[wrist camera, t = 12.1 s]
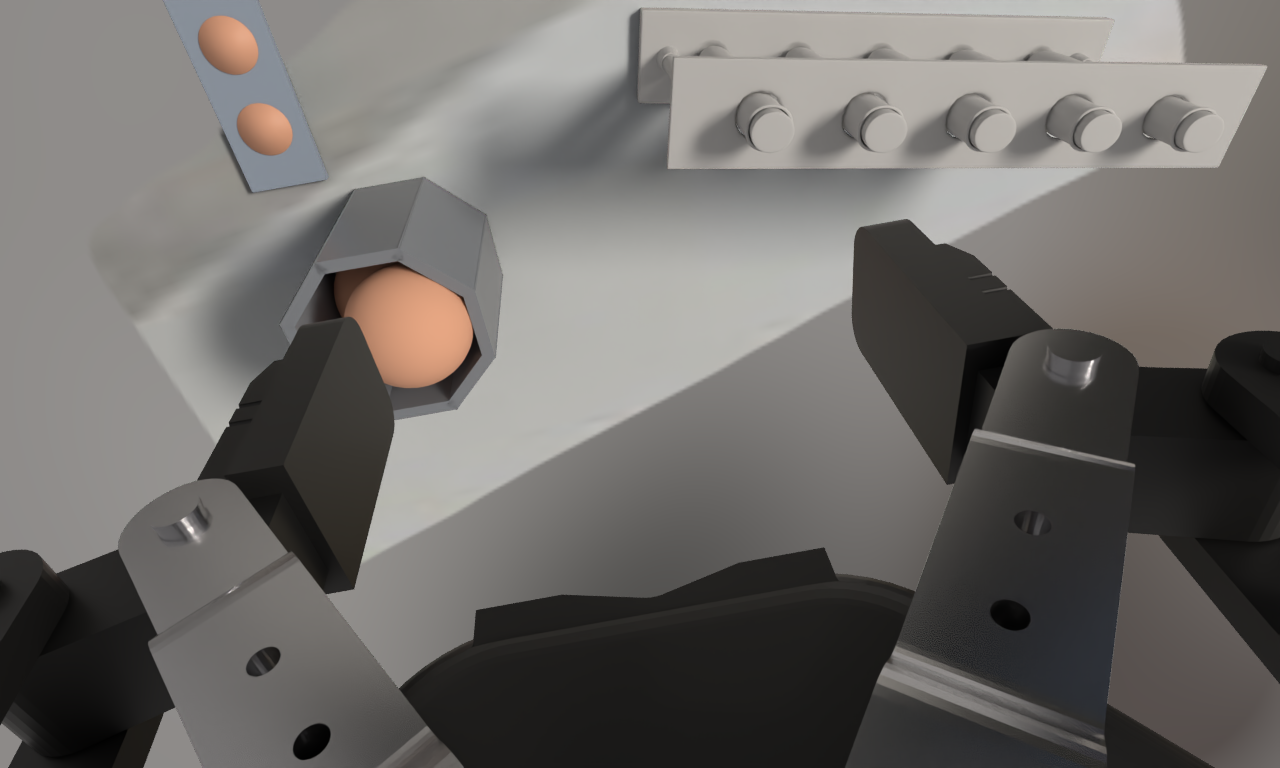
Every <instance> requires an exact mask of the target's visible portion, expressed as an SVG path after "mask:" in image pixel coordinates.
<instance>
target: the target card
mask: <svg viewBox="0 0 1280 768" xmlns="http://www.w3.org/2000/svg"><path fill="white" fill-rule="evenodd" d="M163 2H164V4H165V6H166V8H167V10H168V12H169V15H170V17H171V19H172V21H173V23H174V25H175V27H176V30H177V32H178V34H179V36H180V38H181V40H182V42H183V45H184V47H185V49H186V51H187V53H188V55H189V57H190V60H191V62H192V64H193V66H194V68H195V70H196V73H197V75H198V77H199V79H200V81H201V83H202V85H203V88H204V90H205V92H206V94H207V96H208V98H209V100H210V102H211V105H212V107H213V109H214V111H215V113H216V115H217V118H218V120H219V122H220V124H221V126H222V128H223V130H224V133H225V135H226V137H227V139H228V141H229V143H230V145H231V148H232V150H233V152H234V154H235V156H236V158H237V160H238V163H239V165H240V167H241V169H242V171H243V173H244V175H245V178H246V180H247V182H248V184H249V186H250V188H251V190H252V193H253V192H259V191H264V190H270V189H276V188H282V187H287V186H293V185H299V184H304V183H310V182H316V181H321V180H327V179H328V177H329V176H328V174H327V171H326V169H325V166H324V164H323V161H322V159H321V156H320V154H319V151H318V149H317V146H316V144H315V141H314V139H313V136H312V134H311V131H310V129H309V126H308V124H307V121H306V119H305V116H304V114H303V111H302V109H301V106H300V104H299V101H298V99H297V96H296V93H295V91H294V88H293V86H292V83H291V81H290V78H289V76H288V73H287V71H286V68H285V66H284V63H283V61H282V58H281V56H280V53H279V51H278V48H277V46H276V43H275V41H274V38H273V36H272V33H271V31H270V28H269V26H268V23H267V21H266V18H265V16H264V13H263V11H262V8H261V6H260V3H259V1H258V0H163Z"/></svg>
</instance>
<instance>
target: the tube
mask: <svg viewBox="0 0 1280 768" xmlns="http://www.w3.org/2000/svg"><path fill="white" fill-rule="evenodd" d="M395 261H398V262H400V263H402V264H404V265H406V266H408V267H409V268H411V269H413V270H415V271H417V272H418V273H420V274H422V275H424V276H426V277H428V278H429V279H431V280H433V281H435V282H437V283H439V284H440V285H442V286H444V287H446V288H448V289H449V290H451V291H453V292H455V293H457V294H459V295H460V296H462V297H464V300H465V303H466V307H467V310H468V313H469V316H470V319H471V322H472V325H473V329H474V333H473V339H472V343H471V347H470V349H469V352H468V354H467V355H466V357H465V359H464V361H463V362H462V363H461V365H460V366H459V367H458V368H457V369H456V370H455V371H454V372H453V373H452V374H450V375H449V376H448V377H446V378H445V379H443V380H441V381H439V382H437V383H435V384H432V385H429V386H425V387H419V388H401V387H395V386H391V385H388V384H385V383H384V384H385V386H386V389H387V391H388V394H389V396H390V399H391V403H392V407H393V413H394V420H399V419H404V418H410V417H416V416H421V415H427V414H433V413H438V412H444V411H449V410H455V409H456V410H457V409H458V407H459V406H460V404H461V403H462V402H463V400H464V399H465V398H466V396H467V395H468V394H469V392H470V391H471V390H472V388H473V387H474V385H475V384H476V383H477V381H478V380H479V379H480V377H481V376H482V375H483V373H484V372H485V371H486V369H487V368H488V367H489V365H490V364H491V362H492V361H493V360H494V358H496V348H497V337H498V326H499V314H500V303H501V292H502V280H503V274H502V270H501V267H500V263H499V260H498V256H497V252H496V249H495V245H494V242H493V238H492V234H491V231H490V227H489V224H488V220H487V215H486V214H484V213H482V212H481V211H479V210H477V209H476V208H474V207H472V206H471V205H469V204H468V203H466V202H464V201H463V200H461V199H459V198H458V197H456V196H454V195H453V194H451V193H449V192H448V191H446V190H445V189H443V188H441V187H440V186H438V185H436V184H435V183H433V182H431V181H430V180H428V179H426V178H425V177H422V178H417V179H411V180H405V181H400V182H394V183H388V184H383V185H377V186H371V187H365V188H360V189H354V191H353V192H352V194H351V196H350V198H349V200H348V201H347V203H346V205H345V207H344V209H343V210H342V212H341V214H340V216H339V218H338V219H337V221H336V223H335V225H334V227H333V228H332V230H331V232H330V234H329V236H328V237H327V239H326V241H325V243H324V245H323V246H322V248H321V250H320V252H319V254H318V255H317V257H316V259H315V261H314V263H313V264H312V266H311V268H310V270H309V272H308V273H307V275H306V277H305V279H304V281H303V282H302V284H301V286H300V288H299V290H298V291H297V293H296V295H295V297H294V299H293V300H292V302H291V304H290V306H289V308H288V309H287V311H286V313H285V315H284V317H283V318H282V320H281V322H280V325H279V326H281V328H282V330H283V332H284V334H285V336H286V338H287V340H288V342H289V344H290V345H291V343H292V341H293V339H294V337H295V335H296V333H297V331H298V329H299V328H300V326H302V325H304V324H310V323H316V322H321V321H327V320H333V319H338V318H342V317H341V315H340V313H339V311H338V308H337V306H336V302H335V297H334V281H335V276H336V273H337V272H339V271H344V270H350V269H356V268H361V267H367V266H373V265H378V264H384V263H390V262H395Z"/></svg>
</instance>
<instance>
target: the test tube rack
mask: <svg viewBox="0 0 1280 768" xmlns="http://www.w3.org/2000/svg"><path fill="white" fill-rule="evenodd" d="M1114 21H1115V20H1113V19H1110V18H1106V17H1063V16H1014V15H966V14H919V13H871V12H824V11H776V10H729V9H684V8H640V25H639V59H638V89H637V100H638V102H639V103H663V104H670V112H669V130H668V148H667V168H668V169H853V168H1182V167H1183V168H1187V167H1188V168H1189V167H1190V168H1192V167H1193V168H1198V167H1201V168H1203V167H1204V168H1205V167H1219V164H1220V163H1221V161H1222V158H1223V157H1224V155H1225V152H1226V150H1227V148H1228V146H1229V144H1230V142H1231V140H1232V138H1233V136H1234V134H1235V132H1236V130H1237V128H1238V126H1239V124H1240V122H1241V120H1242V118H1243V116H1244V114H1245V112H1246V110H1247V108H1248V105H1249V103H1250V101H1251V99H1252V97H1253V95H1254V93H1255V91H1256V89H1257V87H1258V85H1259V83H1260V81H1261V79H1262V77H1263V75H1264V73H1265V71H1266V69H1267V66H1265V65H1261V64H1217V63H1213V64H1212V63H1143V62H1100V59H1101V57H1102V54H1103V51H1104V49H1105V46H1106V43H1107V40H1108V38H1109V35H1110V32H1111V29H1112V27H1113V24H1114ZM736 124H737V126H738V127H739V128H740V130H741V131H742V132H743V134H744V135H743V134H742V133H740V132H739V130H738V128H737V126H736ZM844 129H845V130H846V131H847V132H848V133H850V134H851V135H852V136H853V137H851V136H849V135H848V134H847V133H845V131H844ZM947 131H948V132H950V133H951V134H953V135H954V136H956V137H957V138H956V137H952V136H951V135H950V134H948V133H947ZM1046 132H1048V133H1049V134H1051V135H1053V136H1055V137H1057V138H1053V137H1050V136H1049V135H1048V134H1047V133H1046ZM1143 133H1144V134H1146V135H1148V136H1151V137H1153V138H1154V139H1153V138H1148V137H1146V136H1145V135H1144V134H1143Z"/></svg>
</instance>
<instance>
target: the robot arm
mask: <svg viewBox="0 0 1280 768" xmlns="http://www.w3.org/2000/svg"><path fill="white" fill-rule="evenodd" d="M852 323H853V330H854V335H855V338H856V342H857V344H858V347H859V349H860V351H861V353H862V354H863V356H864V357H865V359H866V360H867V362H868V363H869V365H870V366H871V368H872V370H873V371H874V372H875V374H876V376H877V377H878V379H879V380H880V382H881V384H882V385H883V386H884V388H885V390H886V391H887V393H888V394H889V396H890V397H891V399H892V400H893V402H894V404H895V405H896V407H897V408H898V410H899V411H900V413H901V414H902V416H903V417H904V419H905V421H906V422H907V424H908V425H909V427H910V428H911V430H912V431H913V433H914V435H915V436H916V438H917V439H918V441H919V442H920V444H921V445H922V447H923V448H924V450H925V451H926V453H927V455H928V456H929V458H930V459H931V461H932V462H933V464H934V466H935V467H936V468H937V470H938V472H939V473H940V475H941V476H942V478H943V479H944V481H945V483H946V484H947V485H948V484H954V486H953V489H952V491H951V494H950V497H949V500H948V502H947V505H946V508H945V511H944V513H943V516H942V519H941V522H940V525H939V527H938V530H937V533H936V536H935V538H934V541H933V544H932V547H931V550H930V552H929V555H928V558H927V561H926V563H925V566H924V569H923V572H922V575H921V577H920V580H919V583H918V586H917V588H916V591H913V590H910V589H907V588H905V587H902V586H898V585H896V584H893V583H890V582H885V581H882V580H877V579H873V578H868V577H862V576H854V575H848V574H835V573H834V570H833V568H832V565H831V563H830V560H829V558H828V556H827V553H826V551H825V548H819V549H813V550H808V551H802V552H796V553H791V554H785V555H780V556H774V557H769V558H763V559H758V560H752V561H747V562H741V563H738V564H735V565H733V566H730V567H728V568H726V569H723V570H721V571H718V572H716V573H713V574H711V575H709V576H706V577H704V578H701V579H699V580H696V581H694V582H692V583H689V584H687V585H684V586H682V587H680V588H677V589H675V590H672V591H670V592H667V593H665V594H663V595H660V596H657V597H652V598H633V597H606V596H605V597H604V596H579V595H558V596H552V597H547V598H542V599H536V600H531V601H525V602H519V603H513V604H508V605H503V606H497V607H491V608H486V609H480V610H476V617H475V630H474V639H473V640H471V641H468V642H466V643H464V644H462V645H460V646H458V647H456V648H454V649H453V650H451V651H449V652H447V653H445V654H443V655H442V656H440V657H439V658H437V659H436V660H434V661H433V662H431V663H430V664H428V665H427V666H425V667H424V668H422V669H421V670H420V671H419V672H417V673H416V674H415V675H414V676H412V677H411V678H410V679H409V680H408V681H406V682H405V683H404V684H403V685H402V686H401V687H400V688H398V687H397V686H396V685H395V683H394V682H393V681H392V680H391V678H390V677H389V676H388V675H387V673H386V672H385V670H384V669H383V668H382V667H381V665H380V664H379V663H378V662H377V660H376V659H375V658H374V656H373V655H372V654H371V652H370V651H369V650H368V648H367V647H366V646H365V645H364V643H363V642H362V641H361V639H360V638H359V637H358V635H357V634H356V633H355V632H354V630H353V629H352V628H351V626H350V625H349V624H348V623H347V621H346V620H345V619H344V617H343V616H342V615H341V613H340V612H339V611H338V610H337V609H336V607H335V606H334V604H333V603H332V602H331V601H330V599H329V598H328V597H327V595H326V594H330V593H336V592H341V591H347V590H352V589H354V587H355V583H356V579H357V575H358V572H359V568H360V564H361V560H362V556H363V552H364V548H365V544H366V540H367V536H368V532H369V528H370V524H371V520H372V516H373V512H374V508H375V504H376V500H377V497H378V493H379V489H380V485H381V481H382V477H383V473H384V469H385V465H386V461H387V457H388V453H389V449H390V445H391V441H392V437H393V433H394V413H393V407H392V403H391V399H390V396H389V394H388V391H387V389H386V386H385V384H384V382H383V379H382V377H381V375H380V372H379V370H378V368H377V365H376V363H375V360H374V358H373V356H372V353H371V351H370V349H369V346H368V344H367V342H366V339H365V337H364V335H363V332H362V330H361V328H360V326H359V324H358V323H357V322H356V320H355V319H354V318H352V317H344V318H338V319H333V320H327V321H321V322H316V323H310V324H304V325H302V326H300V328H299V329H298V331H297V333H296V335H295V337H294V339H293V341H292V343H291V345H290V347H289V349H288V351H287V353H286V355H285V356H284V358H283V360H278V361H274V362H273V363H272V364H271V365H270V366H268V367H267V368H266V369H265V370H264V371H263V372H262V373H261V374H260V375H259V376H257V377H256V378H255V379H254V380H253V381H252V382H251V383H250V385H249V387H248V388H247V390H246V392H245V394H244V396H243V398H242V399H241V401H240V403H239V409H236V410H235V412H234V414H233V416H232V418H231V419H230V421H229V425H230V427H226V429H225V430H224V432H223V434H222V436H221V438H220V440H219V441H218V443H217V445H216V447H215V449H214V451H213V452H212V454H211V456H210V458H209V460H208V461H207V463H206V465H205V467H204V469H203V471H202V472H201V474H200V476H199V478H198V480H197V481H194V482H191V483H188V484H185V485H182V486H180V487H177V488H175V489H173V490H171V491H169V492H167V493H165V494H163V495H161V496H160V497H158V498H156V499H155V500H153V501H152V502H150V503H149V504H148V505H146V506H145V507H144V508H143V509H141V510H140V511H139V512H138V513H137V514H136V515H135V516H134V517H133V518H132V519H131V520H130V522H129V523H128V524H127V525H126V527H125V528H124V530H123V532H122V533H121V536H120V539H119V542H118V550H116V551H113V552H110V553H108V554H105V555H103V556H100V557H98V558H95V559H93V560H90V561H88V562H85V563H82V564H80V565H77V566H75V567H72V568H70V569H67V570H64V571H62V572H59V573H57V574H56V573H55V572H54V571H53V570H52V569H51V568H50V567H49V565H48V564H47V563H46V562H45V561H44V560H43V559H42V558H41V557H40V556H39V555H38V554H37V553H35V552H33V551H29V550H12V551H6V552H2V553H0V725H1V723H2V724H3V725H5V726H6V727H7V728H8V729H9V730H11V731H12V732H13V733H14V734H15V735H17V736H18V737H19V738H20V739H22V740H23V741H22V743H21V745H20V747H19V749H18V750H17V752H16V754H15V756H14V758H13V760H12V762H11V764H10V765H9V767H8V768H143V767H144V764H145V762H146V759H147V756H148V753H149V751H150V748H151V746H152V743H153V740H154V738H155V735H156V733H157V730H158V727H159V725H160V722H161V719H162V717H163V713H164V712H166V711H168V710H171V709H173V708H175V707H176V709H177V712H178V714H179V716H180V718H181V721H182V723H183V725H184V727H185V729H186V731H187V734H188V736H189V738H190V741H191V743H192V745H193V747H194V750H195V752H196V754H197V756H198V759H199V761H200V763H201V765H202V767H203V768H1214V767H1213V766H1211V765H1209V764H1208V763H1206V762H1204V761H1203V760H1201V759H1199V758H1198V757H1196V756H1194V755H1193V754H1191V753H1189V752H1188V751H1186V750H1184V749H1183V748H1181V747H1179V746H1178V745H1176V744H1174V743H1173V742H1171V741H1169V740H1167V739H1166V738H1164V737H1162V736H1161V735H1159V734H1157V733H1156V732H1154V731H1153V730H1150V729H1149V728H1148V727H1146V726H1144V725H1142V724H1141V723H1139V722H1137V721H1136V720H1134V719H1132V718H1131V717H1129V716H1127V715H1126V714H1124V713H1122V712H1121V711H1119V710H1117V709H1116V708H1114V707H1112V706H1111V705H1109V704H1107V701H1108V693H1109V685H1110V677H1111V668H1112V660H1113V651H1114V643H1115V635H1116V626H1117V618H1118V610H1119V602H1120V594H1121V585H1122V577H1123V569H1124V560H1125V551H1126V544H1127V535H1128V533H1141V534H1153V535H1159V536H1160V538H1161V539H1162V540H1163V541H1164V543H1165V544H1166V545H1167V546H1168V548H1169V549H1170V550H1171V551H1172V553H1173V554H1174V555H1175V556H1176V557H1177V559H1178V560H1179V561H1180V562H1181V563H1182V565H1183V566H1184V567H1185V568H1186V570H1187V571H1188V572H1189V573H1190V574H1191V576H1192V577H1193V578H1194V579H1195V581H1196V582H1197V583H1198V584H1199V586H1200V587H1201V588H1202V589H1203V590H1204V592H1205V593H1206V594H1207V595H1208V597H1209V598H1210V599H1211V600H1212V601H1213V603H1214V604H1215V605H1216V606H1217V608H1218V609H1219V610H1220V611H1221V613H1222V614H1223V615H1224V616H1225V617H1226V619H1227V620H1228V621H1229V622H1230V623H1231V625H1232V626H1233V627H1234V628H1235V630H1236V631H1237V632H1238V633H1239V635H1240V636H1241V637H1242V638H1243V639H1244V641H1245V642H1246V643H1247V644H1248V645H1249V647H1250V648H1251V649H1252V650H1253V652H1254V653H1255V654H1256V655H1257V656H1258V658H1259V659H1260V660H1261V662H1263V664H1264V665H1265V666H1266V667H1267V669H1268V670H1269V671H1270V672H1271V674H1272V675H1273V676H1274V677H1275V678H1276V680H1277V681H1278V682H1279V683H1280V332H1277V331H1251V332H1243V333H1238V334H1234V335H1232V336H1229V337H1227V338H1225V339H1223V340H1222V341H1221V342H1220V343H1219V344H1218V345H1217V346H1216V348H1215V351H1214V353H1213V356H1212V359H1211V361H1210V364H1209V367H1208V369H1199V368H1155V367H1151V368H1150V367H1139V365H1138V362H1137V360H1136V358H1135V357H1134V355H1133V354H1132V353H1131V352H1130V351H1129V350H1128V349H1127V348H1125V347H1124V346H1122V345H1121V344H1119V343H1117V342H1115V341H1113V340H1111V339H1109V338H1106V337H1104V336H1101V335H1098V334H1094V333H1091V332H1086V331H1081V330H1073V329H1053V328H1052V327H1051V326H1049V325H1048V324H1047V323H1046V322H1045V321H1044V320H1043V319H1042V318H1041V317H1040V316H1039V315H1038V314H1037V313H1035V312H1034V311H1033V310H1032V309H1031V308H1030V307H1029V306H1028V305H1027V304H1026V303H1025V302H1024V301H1022V300H1021V299H1020V298H1019V297H1018V296H1017V295H1016V294H1015V293H1014V292H1013V291H1012V290H1007V286H1006V285H1005V284H1004V283H1003V282H1002V281H1001V280H1000V279H999V278H998V277H996V276H992V272H991V271H990V270H989V269H988V268H987V267H986V266H985V265H983V264H982V263H981V262H980V261H979V260H978V259H977V258H976V257H975V256H973V255H971V254H969V253H967V252H964V251H962V250H959V249H957V248H955V247H952V246H950V245H948V244H945V243H944V244H939V245H935V244H934V243H933V242H932V241H931V240H930V239H929V238H928V237H927V236H926V235H925V234H924V233H922V232H921V231H920V230H919V229H918V228H917V227H916V226H915V225H914V224H913V223H912V222H911V221H910V220H908V219H904V220H898V221H893V222H887V223H881V224H876V225H870V226H864V227H860V228H859V229H858V230H857V232H856V235H855V241H854V263H853V293H852Z"/></svg>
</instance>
